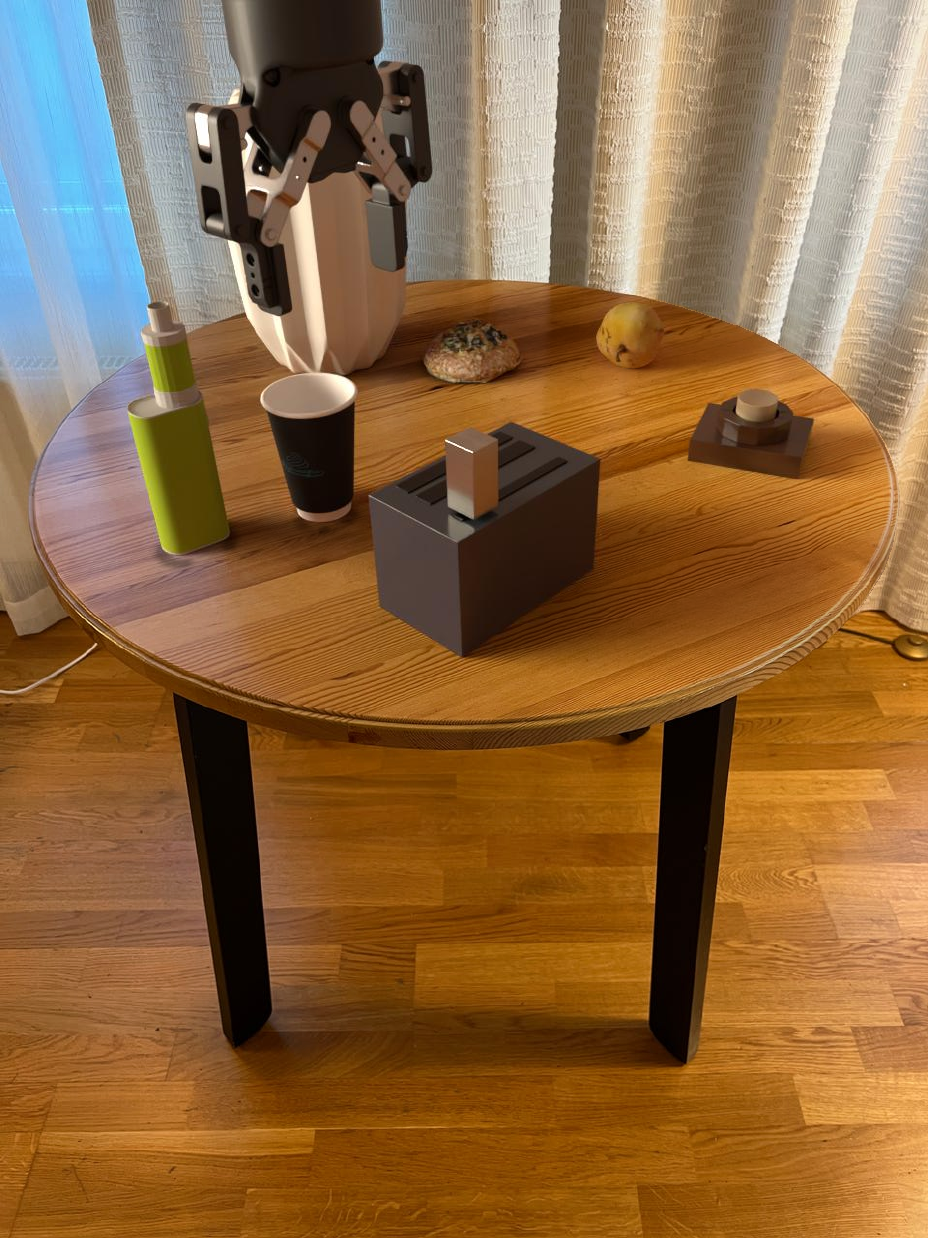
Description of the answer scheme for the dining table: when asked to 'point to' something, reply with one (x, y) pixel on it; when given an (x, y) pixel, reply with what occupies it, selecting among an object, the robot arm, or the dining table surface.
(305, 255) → the vase
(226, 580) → the dining table surface
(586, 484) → the toaster
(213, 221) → the robot arm
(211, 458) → the vape
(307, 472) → the dixie cup
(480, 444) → the toaster slider
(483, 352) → the bread roll
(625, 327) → the fruit
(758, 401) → the power button
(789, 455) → the block
